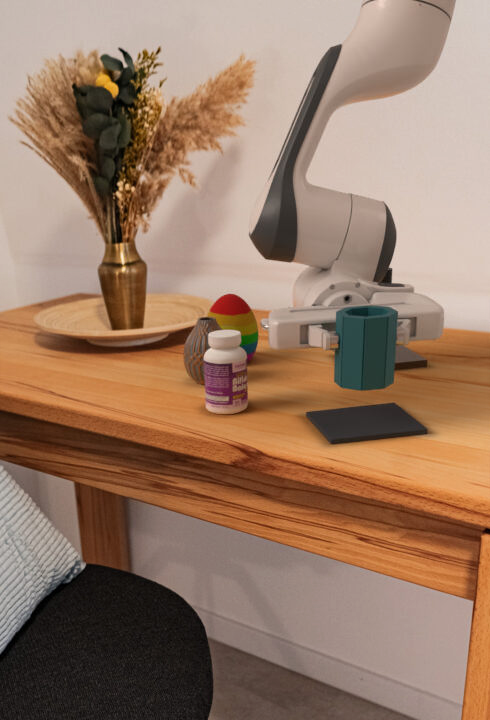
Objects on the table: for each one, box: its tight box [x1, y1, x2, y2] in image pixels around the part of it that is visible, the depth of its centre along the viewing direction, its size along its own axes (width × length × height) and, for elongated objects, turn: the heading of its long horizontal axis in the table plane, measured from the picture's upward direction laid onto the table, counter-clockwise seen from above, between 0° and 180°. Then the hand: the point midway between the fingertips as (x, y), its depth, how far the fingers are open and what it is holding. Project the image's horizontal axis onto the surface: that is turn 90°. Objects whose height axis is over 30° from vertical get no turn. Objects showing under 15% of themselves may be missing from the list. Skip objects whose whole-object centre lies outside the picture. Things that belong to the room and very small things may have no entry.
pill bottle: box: [204, 330, 249, 415], centre depth 104 cm, size 5×5×10 cm
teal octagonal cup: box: [333, 305, 398, 392], centre depth 94 cm, size 6×6×8 cm
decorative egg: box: [206, 293, 259, 363], centre depth 124 cm, size 8×8×10 cm
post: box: [380, 267, 428, 371], centre depth 118 cm, size 10×10×13 cm
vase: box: [182, 316, 222, 385], centre depth 116 cm, size 7×7×9 cm
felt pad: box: [305, 402, 429, 445], centre depth 97 cm, size 11×10×1 cm
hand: (367, 340), depth 92 cm, fingers closed on teal octagonal cup, 6 cm apart
